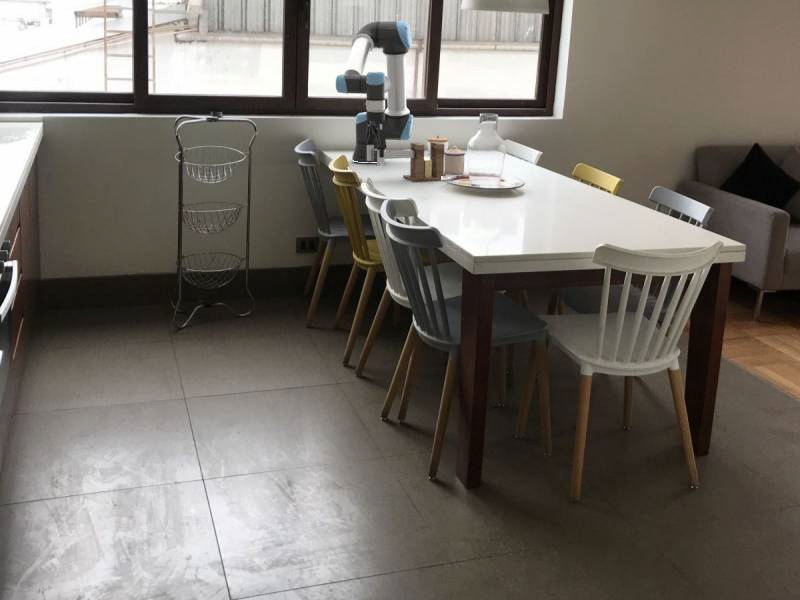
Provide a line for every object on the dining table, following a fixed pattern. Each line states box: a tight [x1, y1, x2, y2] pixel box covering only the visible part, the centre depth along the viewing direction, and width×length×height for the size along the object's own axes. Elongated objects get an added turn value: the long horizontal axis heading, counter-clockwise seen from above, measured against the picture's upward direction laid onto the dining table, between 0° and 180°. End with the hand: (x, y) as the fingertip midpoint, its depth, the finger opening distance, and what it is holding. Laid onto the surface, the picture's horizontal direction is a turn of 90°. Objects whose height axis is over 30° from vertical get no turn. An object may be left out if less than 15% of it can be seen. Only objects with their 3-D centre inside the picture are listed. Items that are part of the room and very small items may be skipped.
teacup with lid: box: [444, 145, 466, 175], centre depth 419 cm, size 12×9×12 cm
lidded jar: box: [426, 134, 450, 153], centre depth 473 cm, size 11×11×9 cm
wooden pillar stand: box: [402, 141, 446, 183], centre depth 401 cm, size 12×17×15 cm
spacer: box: [424, 157, 432, 178], centre depth 402 cm, size 7×3×8 cm, turn 20°
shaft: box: [371, 148, 416, 161], centre depth 395 cm, size 4×20×4 cm, turn 110°
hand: (375, 163), depth 393 cm, fingers open, 13 cm apart
